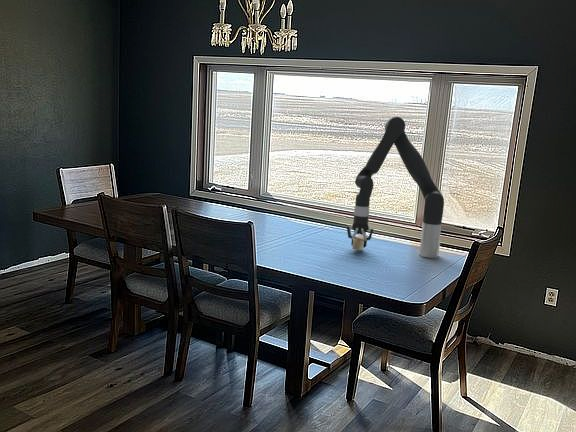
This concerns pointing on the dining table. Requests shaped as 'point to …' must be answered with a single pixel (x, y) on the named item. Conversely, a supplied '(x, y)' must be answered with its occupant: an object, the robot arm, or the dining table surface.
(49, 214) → the dining table surface
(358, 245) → the maple block
